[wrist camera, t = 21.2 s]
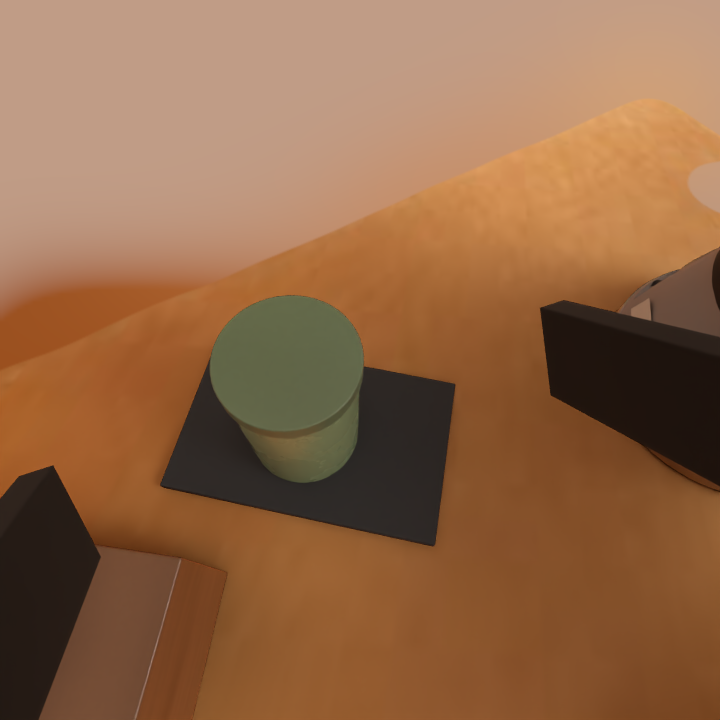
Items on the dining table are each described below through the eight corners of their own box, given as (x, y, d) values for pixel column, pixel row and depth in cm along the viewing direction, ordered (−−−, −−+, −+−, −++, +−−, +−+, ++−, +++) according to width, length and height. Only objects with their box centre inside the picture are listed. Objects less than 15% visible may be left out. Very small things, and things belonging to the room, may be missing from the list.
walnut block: (228, 572, 26) (181, 557, 19) (169, 813, 22) (81, 911, 15) (51, 545, 27) (-58, 521, 20) (-43, 775, 22) (-228, 853, 15)
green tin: (370, 391, 31) (376, 308, 22) (347, 496, 28) (345, 446, 19) (268, 372, 31) (237, 283, 23) (235, 473, 28) (186, 413, 20)
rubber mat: (454, 386, 32) (455, 383, 31) (433, 546, 27) (435, 545, 27) (219, 342, 33) (217, 338, 32) (162, 487, 28) (159, 485, 28)
